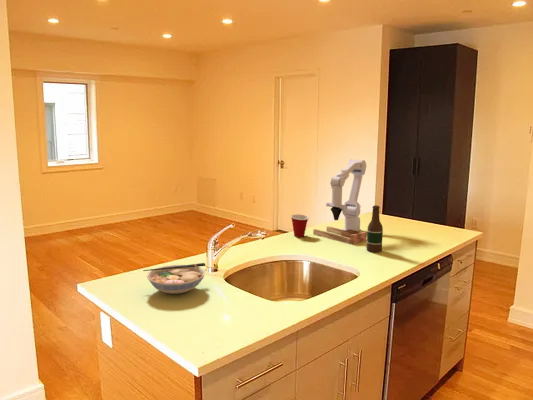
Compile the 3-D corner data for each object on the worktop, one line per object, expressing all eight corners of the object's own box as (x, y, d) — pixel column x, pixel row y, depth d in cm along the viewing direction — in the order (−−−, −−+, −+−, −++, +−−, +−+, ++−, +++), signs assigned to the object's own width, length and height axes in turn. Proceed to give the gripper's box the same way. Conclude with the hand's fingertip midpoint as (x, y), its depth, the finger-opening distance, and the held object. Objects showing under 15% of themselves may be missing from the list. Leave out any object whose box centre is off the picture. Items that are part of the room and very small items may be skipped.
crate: (349, 237, 265) (349, 228, 264) (358, 240, 260) (359, 231, 259) (341, 239, 261) (341, 230, 260) (350, 242, 256) (350, 233, 255)
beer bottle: (382, 253, 235) (384, 207, 231) (366, 252, 236) (368, 206, 232) (381, 249, 242) (383, 204, 238) (366, 248, 244) (368, 204, 240)
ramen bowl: (145, 305, 168) (144, 284, 166) (143, 284, 189) (142, 265, 188) (212, 298, 175) (212, 278, 173) (203, 278, 196) (203, 260, 195)
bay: (328, 230, 282) (328, 223, 281) (366, 240, 260) (367, 232, 259) (313, 234, 274) (313, 226, 273) (351, 244, 251) (352, 235, 250)
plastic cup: (302, 239, 262) (302, 218, 260) (286, 236, 268) (286, 216, 266) (312, 235, 270) (312, 215, 268) (297, 232, 277) (297, 213, 275)
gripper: (323, 196, 268) (322, 218, 270) (341, 199, 257) (341, 223, 259) (331, 194, 272) (330, 217, 274) (350, 198, 261) (349, 221, 263)
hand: (336, 220), depth 267 cm, fingers closed
